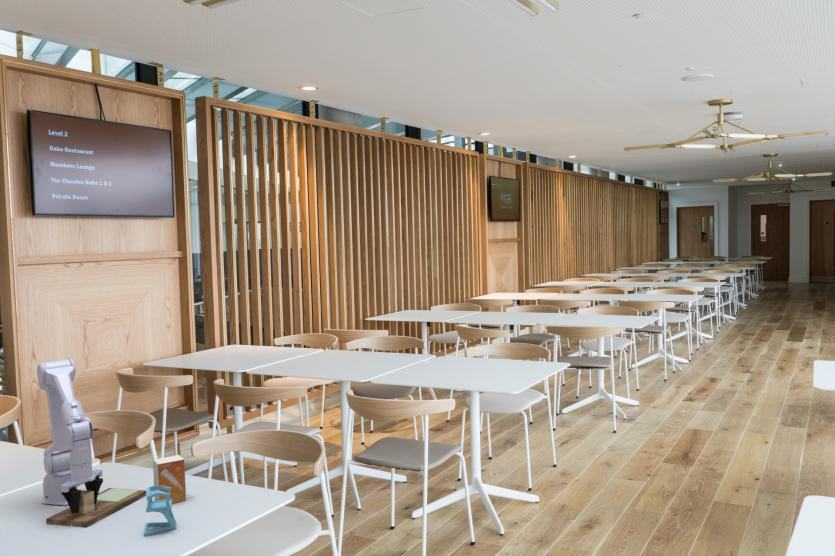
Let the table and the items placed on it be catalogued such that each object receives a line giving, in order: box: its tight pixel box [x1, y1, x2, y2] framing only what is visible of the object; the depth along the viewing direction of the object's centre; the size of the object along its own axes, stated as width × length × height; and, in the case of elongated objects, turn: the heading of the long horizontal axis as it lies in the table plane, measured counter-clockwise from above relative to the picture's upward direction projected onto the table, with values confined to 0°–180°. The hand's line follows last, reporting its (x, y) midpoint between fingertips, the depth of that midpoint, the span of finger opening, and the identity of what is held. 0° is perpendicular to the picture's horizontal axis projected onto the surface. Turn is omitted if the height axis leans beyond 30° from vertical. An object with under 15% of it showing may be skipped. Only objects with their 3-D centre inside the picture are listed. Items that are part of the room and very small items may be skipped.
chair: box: [143, 485, 177, 537], centre depth 198 cm, size 8×8×12 cm
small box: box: [152, 454, 187, 504], centre depth 220 cm, size 8×6×13 cm
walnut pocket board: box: [45, 487, 146, 528], centre depth 216 cm, size 14×26×2 cm, turn 164°
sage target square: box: [97, 488, 140, 503], centre depth 223 cm, size 10×10×1 cm
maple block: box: [74, 489, 95, 515], centre depth 210 cm, size 4×4×7 cm
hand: (84, 508), depth 210 cm, fingers open, 6 cm apart
